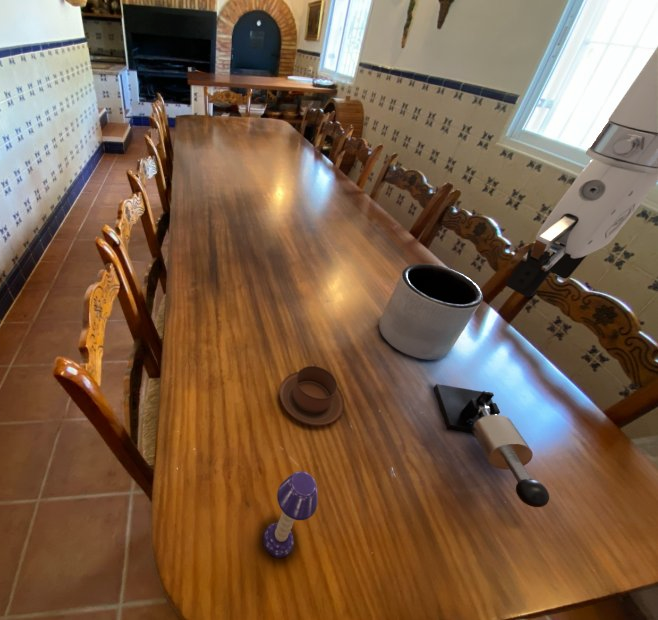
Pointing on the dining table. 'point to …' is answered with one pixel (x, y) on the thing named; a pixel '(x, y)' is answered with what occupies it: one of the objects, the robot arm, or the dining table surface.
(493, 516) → the dining table surface
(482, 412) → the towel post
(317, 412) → the cup and saucer
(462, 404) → the dark grey lever base
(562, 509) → the dining table surface
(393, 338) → the planter
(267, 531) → the toy lamp
